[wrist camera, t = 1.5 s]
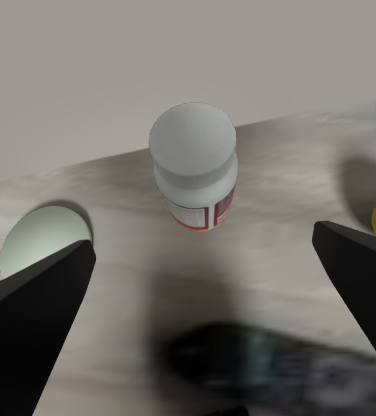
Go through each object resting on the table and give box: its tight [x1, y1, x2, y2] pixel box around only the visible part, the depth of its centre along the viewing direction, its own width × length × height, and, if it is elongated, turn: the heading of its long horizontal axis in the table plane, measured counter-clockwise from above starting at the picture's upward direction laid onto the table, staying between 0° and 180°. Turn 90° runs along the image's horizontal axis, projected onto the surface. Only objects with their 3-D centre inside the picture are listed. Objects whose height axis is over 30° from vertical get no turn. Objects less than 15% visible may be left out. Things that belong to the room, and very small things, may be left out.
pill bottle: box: [149, 103, 239, 232], centre depth 18 cm, size 6×6×11 cm
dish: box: [0, 206, 92, 279], centre depth 23 cm, size 9×9×1 cm
